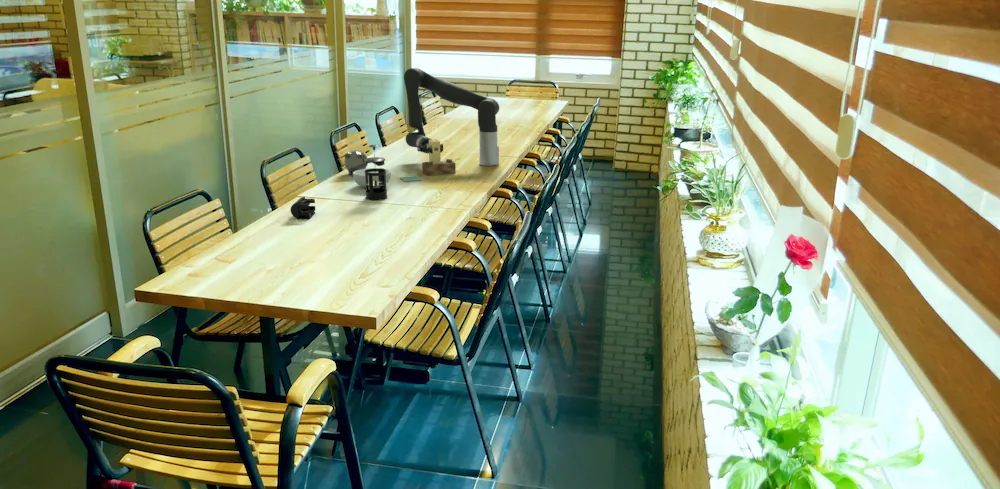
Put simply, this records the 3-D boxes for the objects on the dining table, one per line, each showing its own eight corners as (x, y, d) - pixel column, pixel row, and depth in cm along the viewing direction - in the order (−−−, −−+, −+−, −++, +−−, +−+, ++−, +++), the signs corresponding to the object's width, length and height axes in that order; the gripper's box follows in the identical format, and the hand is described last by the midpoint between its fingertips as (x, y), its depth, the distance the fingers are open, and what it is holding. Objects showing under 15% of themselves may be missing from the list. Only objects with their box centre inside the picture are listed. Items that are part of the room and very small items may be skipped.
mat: (415, 176, 366) (415, 176, 366) (421, 180, 359) (420, 179, 359) (399, 178, 363) (399, 177, 363) (404, 181, 356) (404, 181, 356)
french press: (380, 201, 322) (377, 148, 315) (360, 199, 325) (357, 146, 318) (393, 195, 333) (390, 143, 325) (373, 193, 336) (371, 141, 328)
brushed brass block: (437, 161, 375) (436, 139, 372) (440, 163, 370) (440, 141, 366) (429, 162, 374) (428, 140, 370) (433, 164, 368) (432, 142, 365)
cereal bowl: (397, 184, 352) (396, 169, 350) (380, 192, 337) (379, 177, 335) (364, 181, 358) (364, 166, 355) (346, 189, 343) (346, 174, 340)
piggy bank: (341, 177, 364) (339, 153, 361) (348, 170, 378) (347, 147, 375) (364, 177, 364) (363, 154, 360) (371, 171, 378) (369, 148, 374)
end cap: (298, 212, 306) (297, 196, 304) (316, 213, 306) (314, 196, 304) (291, 219, 297) (289, 203, 295) (309, 220, 297) (307, 203, 294)
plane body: (451, 170, 380) (450, 157, 378) (455, 172, 374) (455, 160, 372) (422, 172, 374) (422, 160, 372) (426, 175, 369) (426, 162, 367)
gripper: (411, 138, 379) (422, 144, 364) (438, 136, 384) (450, 142, 369) (412, 153, 381) (422, 159, 366) (439, 150, 386) (450, 157, 371)
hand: (436, 150), depth 368 cm, fingers closed on brushed brass block, 4 cm apart
